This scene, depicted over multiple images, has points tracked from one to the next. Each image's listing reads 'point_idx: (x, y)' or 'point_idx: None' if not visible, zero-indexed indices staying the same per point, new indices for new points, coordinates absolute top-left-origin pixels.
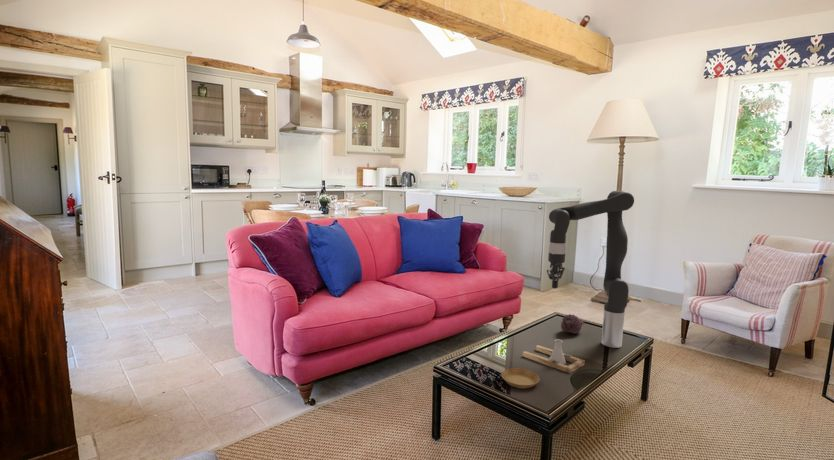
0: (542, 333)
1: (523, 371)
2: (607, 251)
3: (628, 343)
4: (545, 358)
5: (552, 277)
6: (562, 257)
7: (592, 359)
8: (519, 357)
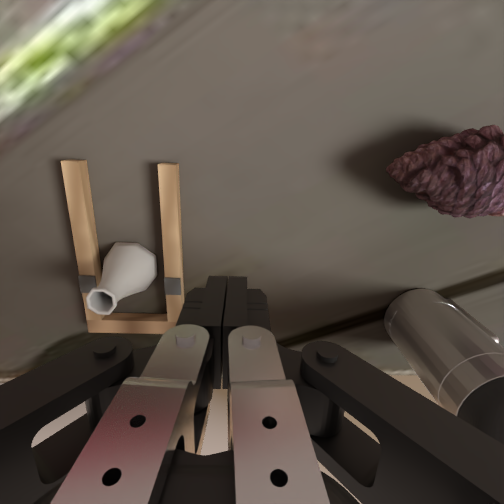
0: (361, 77)
1: None
2: None
3: None
4: (87, 248)
5: (90, 411)
6: None
7: None
8: (51, 156)
